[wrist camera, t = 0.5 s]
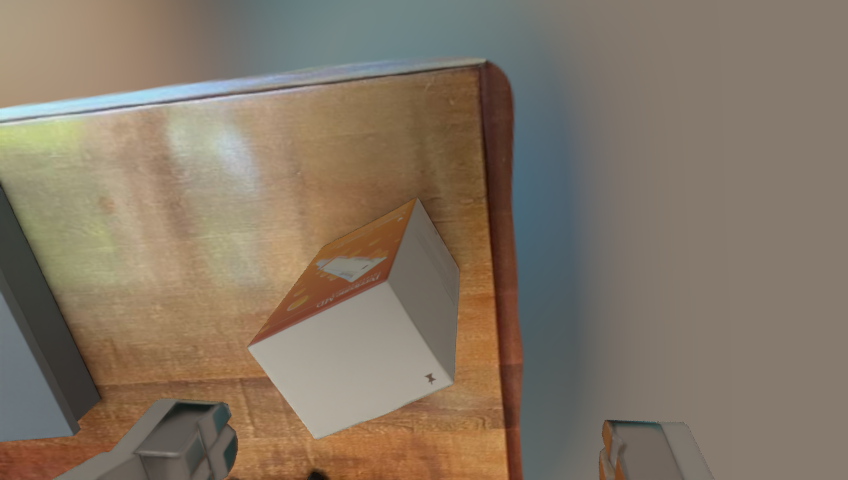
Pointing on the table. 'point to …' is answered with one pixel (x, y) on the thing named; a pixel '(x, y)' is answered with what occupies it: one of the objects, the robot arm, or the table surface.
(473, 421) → the table surface
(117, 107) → the table surface
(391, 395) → the small box
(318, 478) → the game controller
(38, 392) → the gray box with lid
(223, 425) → the robot arm
